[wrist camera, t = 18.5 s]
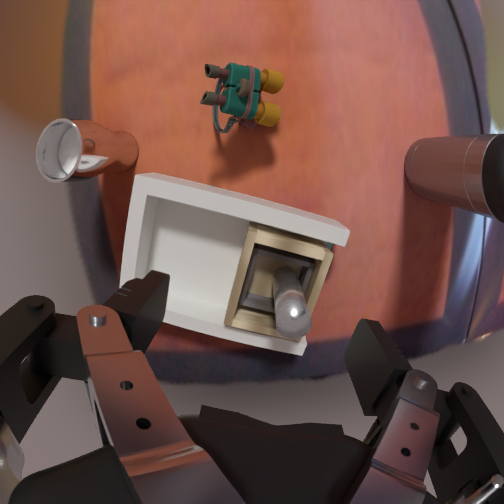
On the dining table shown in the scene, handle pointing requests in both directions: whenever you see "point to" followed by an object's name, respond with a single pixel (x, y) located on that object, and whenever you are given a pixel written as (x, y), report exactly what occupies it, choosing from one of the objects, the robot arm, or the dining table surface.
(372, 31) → the dining table surface
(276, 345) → the bay
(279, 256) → the box
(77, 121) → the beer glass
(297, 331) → the handle peg
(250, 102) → the binoculars
